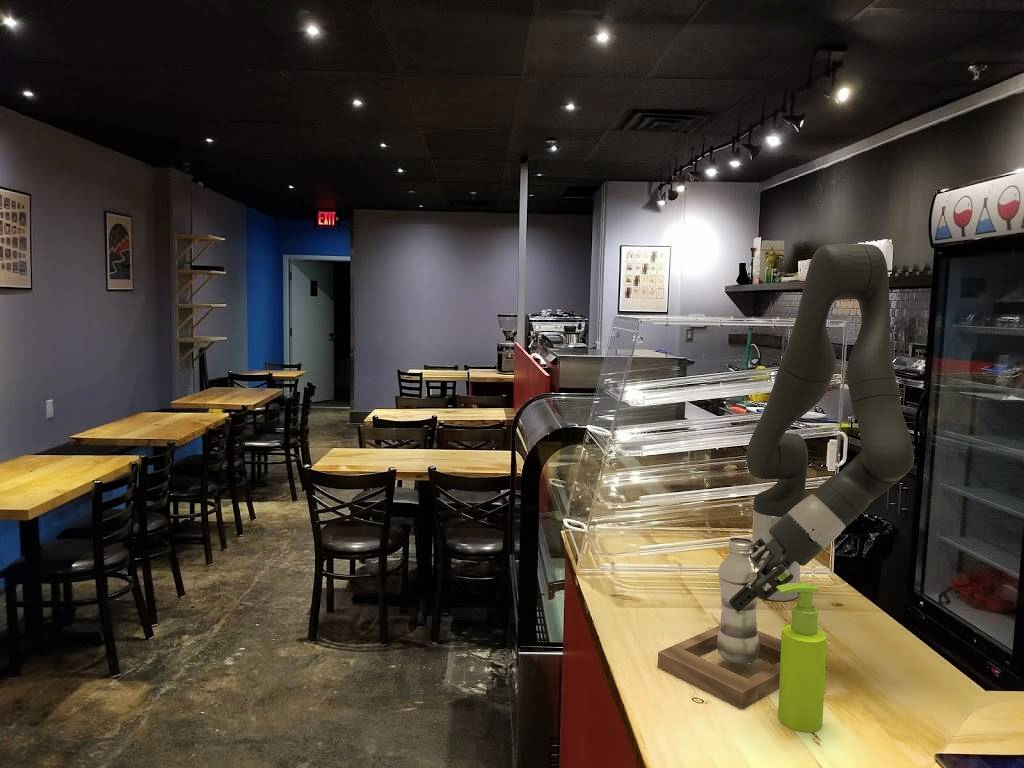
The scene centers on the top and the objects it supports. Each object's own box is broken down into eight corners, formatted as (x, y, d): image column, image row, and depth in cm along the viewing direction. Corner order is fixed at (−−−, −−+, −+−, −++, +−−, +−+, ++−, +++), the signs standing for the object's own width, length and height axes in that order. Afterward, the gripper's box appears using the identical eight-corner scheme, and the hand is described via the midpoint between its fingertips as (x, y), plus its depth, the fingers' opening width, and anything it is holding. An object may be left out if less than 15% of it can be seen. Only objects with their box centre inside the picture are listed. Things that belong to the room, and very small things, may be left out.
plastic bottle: (762, 671, 115) (766, 548, 113) (717, 667, 116) (720, 545, 114) (756, 652, 121) (760, 535, 119) (714, 649, 122) (717, 533, 120)
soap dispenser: (764, 710, 106) (769, 577, 104) (809, 708, 107) (816, 576, 104) (782, 733, 100) (788, 594, 98) (830, 731, 101) (837, 592, 99)
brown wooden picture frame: (731, 633, 131) (731, 620, 131) (814, 668, 118) (815, 653, 118) (657, 666, 119) (658, 652, 118) (742, 709, 106) (742, 693, 106)
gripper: (777, 500, 122) (704, 566, 125) (804, 526, 108) (721, 600, 110) (809, 531, 122) (735, 597, 125) (839, 561, 108) (755, 634, 110)
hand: (728, 598), depth 117 cm, fingers closed on plastic bottle, 6 cm apart
